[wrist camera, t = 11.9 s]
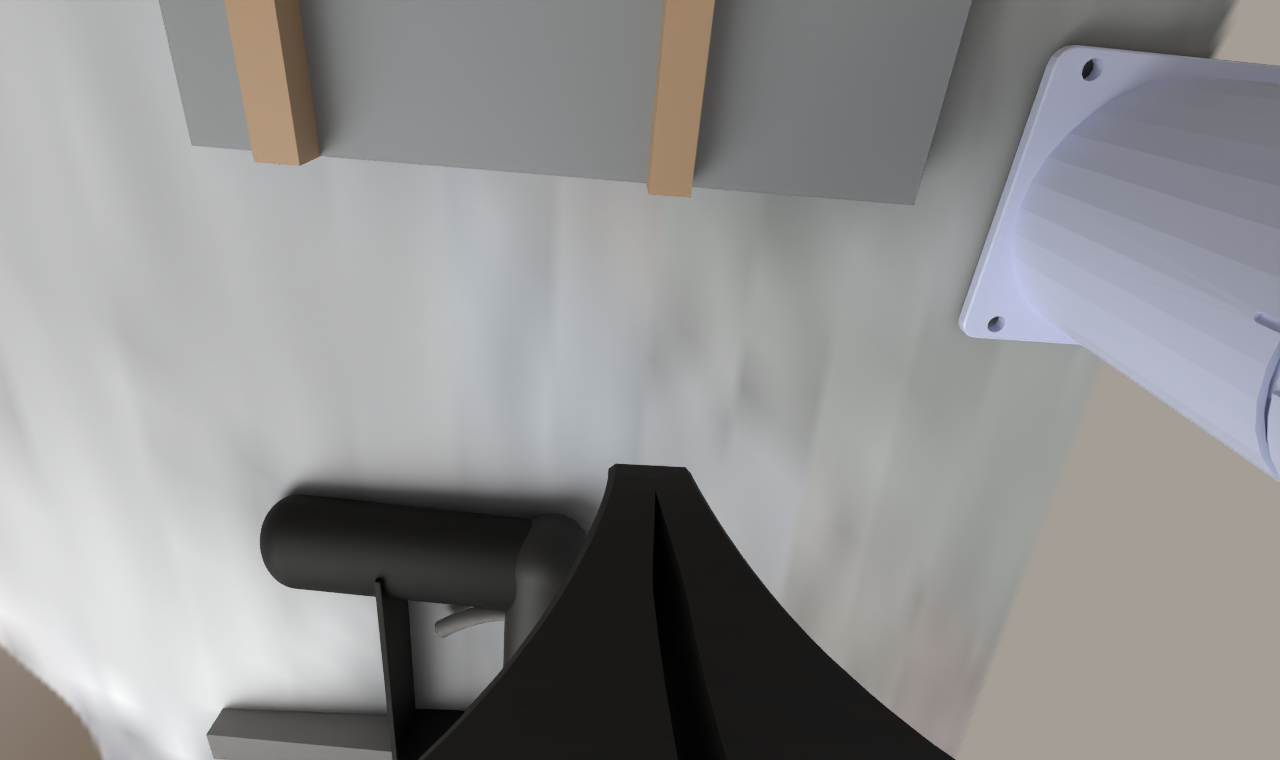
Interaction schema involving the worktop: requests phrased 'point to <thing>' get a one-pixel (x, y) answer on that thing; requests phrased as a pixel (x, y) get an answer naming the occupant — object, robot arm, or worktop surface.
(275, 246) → the worktop surface
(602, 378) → the worktop surface
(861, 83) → the slate board
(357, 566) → the door handle
